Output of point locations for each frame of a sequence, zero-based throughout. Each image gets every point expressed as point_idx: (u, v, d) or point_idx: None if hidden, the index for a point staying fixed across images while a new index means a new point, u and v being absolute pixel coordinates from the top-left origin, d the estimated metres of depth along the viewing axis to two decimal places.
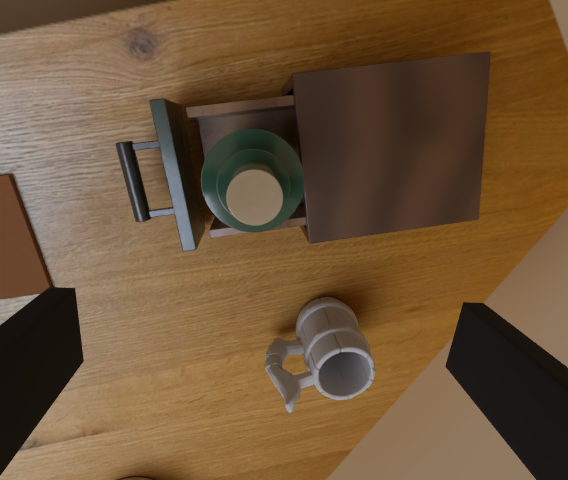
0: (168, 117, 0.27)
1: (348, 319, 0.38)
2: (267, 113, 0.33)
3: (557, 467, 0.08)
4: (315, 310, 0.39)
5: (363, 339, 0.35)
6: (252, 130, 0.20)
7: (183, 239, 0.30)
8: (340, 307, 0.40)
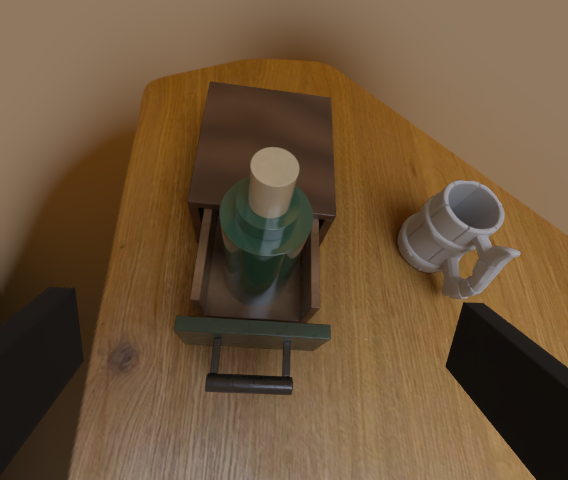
0: (194, 316, 0.27)
1: (419, 212, 0.38)
2: (214, 252, 0.36)
3: (557, 467, 0.08)
4: (409, 245, 0.39)
5: (438, 194, 0.37)
6: (222, 203, 0.23)
7: (317, 334, 0.28)
8: (407, 223, 0.40)
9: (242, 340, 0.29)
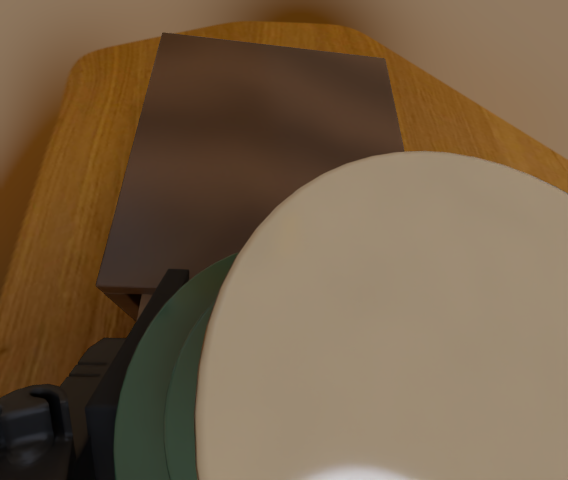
0: None
1: None
2: None
3: None
4: None
5: None
6: (128, 377, 0.06)
7: None
8: None
9: None
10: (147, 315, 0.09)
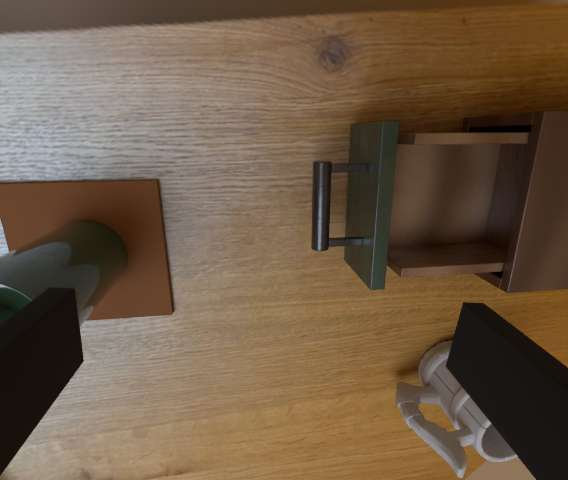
0: (396, 142, 0.23)
1: None
2: (455, 144, 0.30)
3: (558, 468, 0.08)
4: None
5: None
6: None
7: (375, 277, 0.26)
8: None
9: (362, 193, 0.27)
10: None
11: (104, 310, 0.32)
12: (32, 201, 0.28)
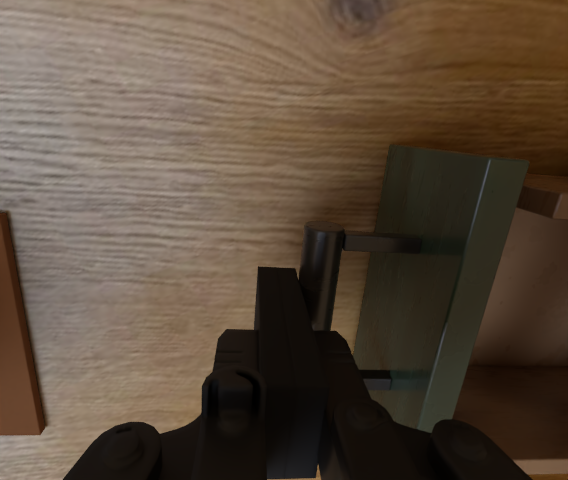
0: (512, 211, 0.09)
1: None
2: None
3: None
4: None
5: None
6: None
7: None
8: None
9: (402, 292, 0.13)
10: (265, 308, 0.10)
11: None
12: None
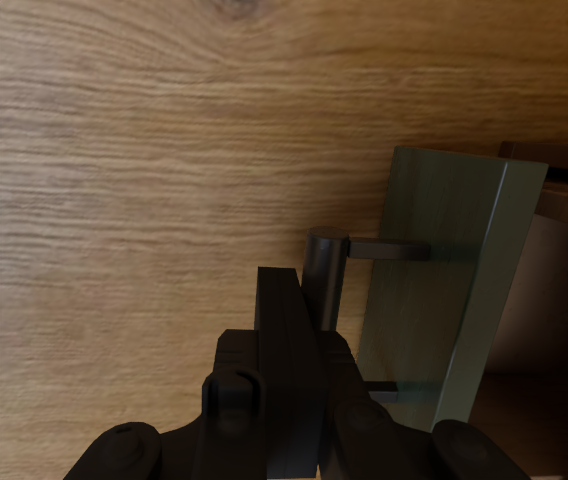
0: (529, 218, 0.09)
1: None
2: None
3: None
4: None
5: None
6: None
7: None
8: None
9: (409, 300, 0.13)
10: (265, 308, 0.10)
11: None
12: None
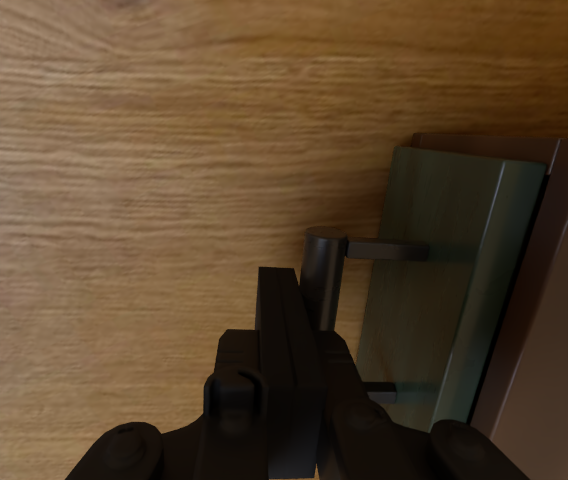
0: (527, 218, 0.09)
1: None
2: None
3: None
4: None
5: None
6: None
7: None
8: None
9: (408, 301, 0.13)
10: (266, 308, 0.10)
11: None
12: None
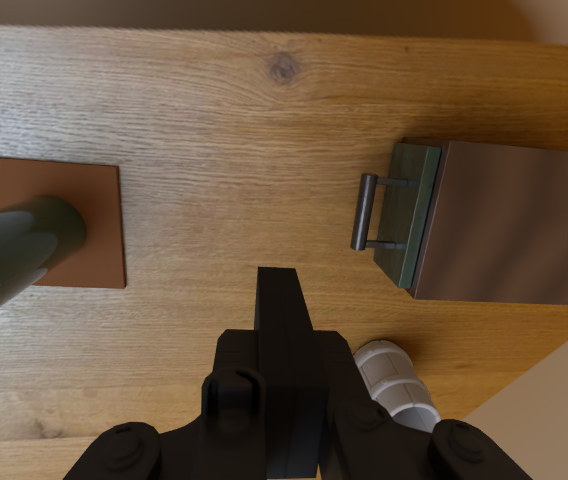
0: (437, 165, 0.28)
1: (412, 370, 0.38)
2: None
3: None
4: (378, 353, 0.40)
5: (428, 394, 0.36)
6: None
7: (403, 277, 0.31)
8: (402, 355, 0.40)
9: (400, 204, 0.31)
10: (265, 308, 0.10)
11: (62, 278, 0.35)
12: (3, 175, 0.32)
